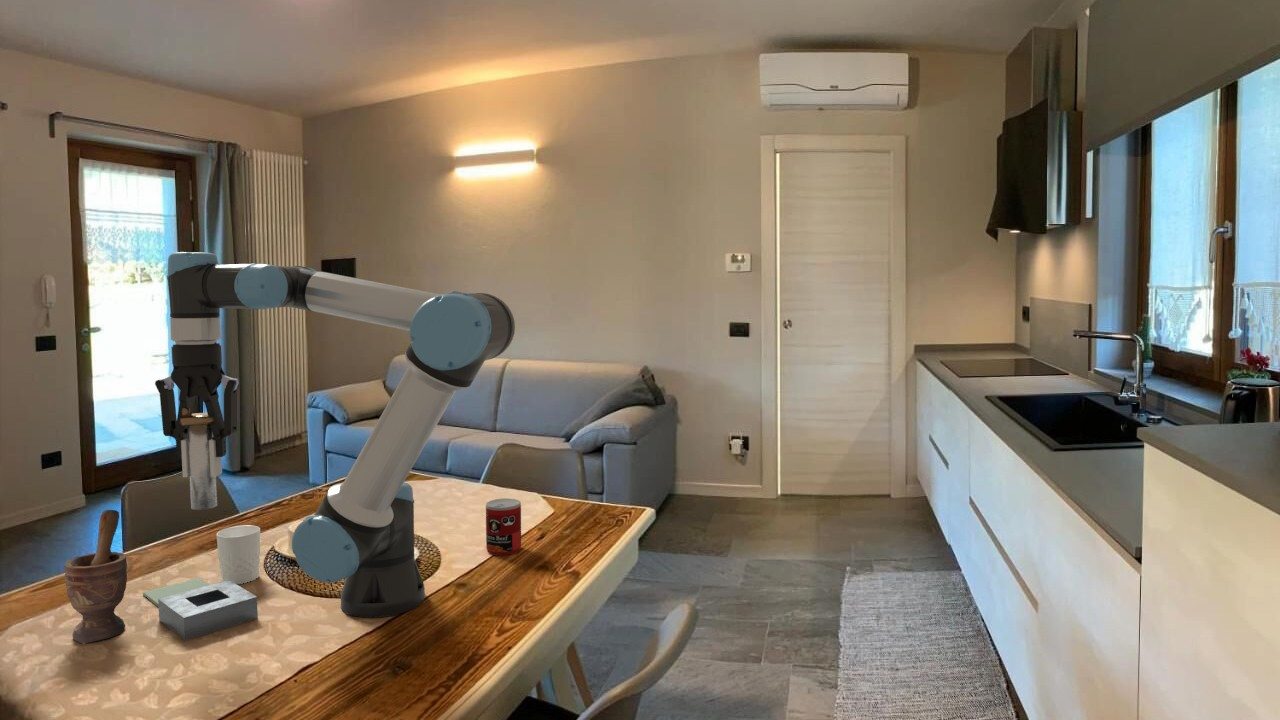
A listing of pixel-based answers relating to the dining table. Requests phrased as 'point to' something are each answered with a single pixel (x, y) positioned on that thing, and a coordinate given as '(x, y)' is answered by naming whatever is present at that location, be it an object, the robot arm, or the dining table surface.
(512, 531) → the canned food
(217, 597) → the block
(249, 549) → the white cup
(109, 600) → the mortar and pestle
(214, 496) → the steel peg
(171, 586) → the mat
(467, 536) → the dining table surface
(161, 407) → the robot arm
